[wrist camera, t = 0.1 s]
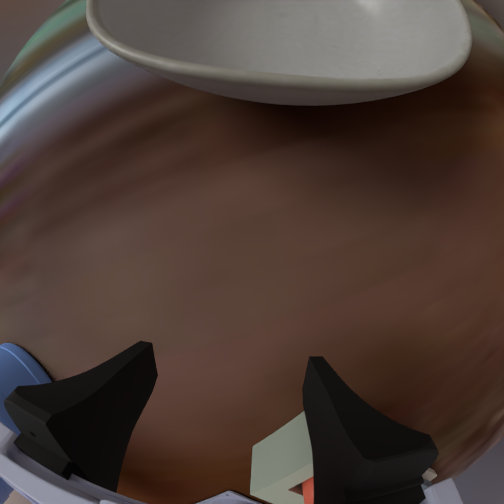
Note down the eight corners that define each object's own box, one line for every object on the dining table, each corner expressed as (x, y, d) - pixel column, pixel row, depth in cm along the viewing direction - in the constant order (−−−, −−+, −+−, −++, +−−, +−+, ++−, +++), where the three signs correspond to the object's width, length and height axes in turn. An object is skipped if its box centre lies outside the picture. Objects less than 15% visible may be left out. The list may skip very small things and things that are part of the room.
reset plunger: (316, 484, 18) (322, 513, 14) (292, 474, 18) (295, 505, 14) (346, 467, 18) (355, 496, 14) (323, 455, 18) (330, 487, 14)
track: (387, 502, 24) (398, 530, 17) (252, 446, 23) (249, 494, 16) (436, 468, 23) (452, 493, 16) (325, 393, 22) (342, 441, 15)
